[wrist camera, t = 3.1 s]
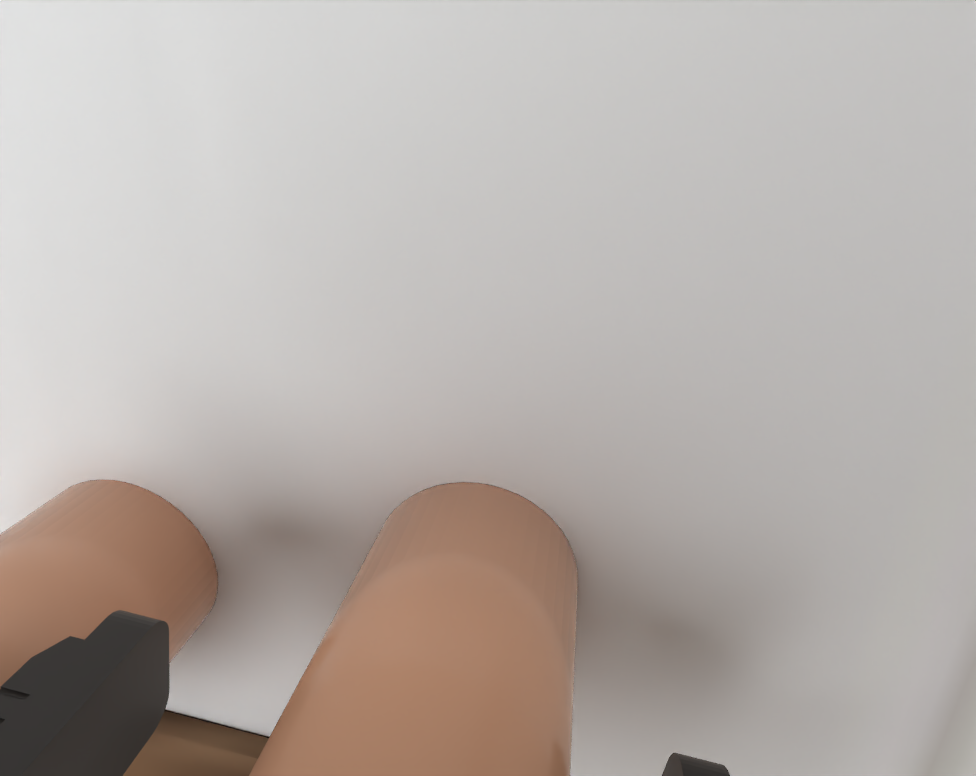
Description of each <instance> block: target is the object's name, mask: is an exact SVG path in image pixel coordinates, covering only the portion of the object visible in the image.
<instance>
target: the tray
mask: <svg viewBox="0 0 976 776" xmlns="http://www.w3.org/2000/svg"><path fill="white" fill-rule="evenodd" d="M268 739H269V738H266V737H262V736H259V735H255V734H251V733H247V732H243V731H240V730H236V729H232V728H228V727H224V726H221V725H217V724H213V723H209V722H205V721H202V720H198V719H194V718H190V717H186V716H183V715H179V714H175V713H171V712H167V711H164V713H163V716H162V718H161V720H160V722H159V724H158V726H157V728H156V729H155V731H154V733H153V734H152V736H151V737H150V738H149V740H148V741H147V743H146V744H145V745H144V747H143V748H142V750H141V751H140V752H139V754H138V755H137V756H136V758H135V759H134V761H133V762H132V763H131V765H130V766H129V768H128V769H127V770H126V772H125V773H124V774H123V776H249V775H250V773H251V771H252V769H253V767H254V765H255V763H256V762H257V760H258V758H259V756H260V754H261V752H262V750H263V748H264V747H265V745H266V743H267V741H268Z"/></svg>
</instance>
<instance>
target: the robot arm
mask: <svg viewBox="0 0 976 776" xmlns="http://www.w3.org/2000/svg"><path fill="white" fill-rule="evenodd" d="M168 696H169V627H168V624H167V622H165V621H162V620H158V619H154V618H150V617H146V616H142V615H138V614H134V613H130V612H127V611H122V610H118V611H115V612H113V613H111V614H110V615H109V616H108V617H107V618H105V619H104V620H103V621H102V622H101V623H100V624H99V626H98V627H97V628H96V629H95V630H94V631H93V632H92V633H91V634H90V635H89V636H88V637H87V638H86V639H85V640H84V639H80V638H76V637H72V636H69V637H67V638H66V639H64V640H62V641H60V642H58V643H57V644H55V645H53V646H51V647H49V648H48V649H46V650H44V651H42V652H40V653H39V654H37V655H35V656H33V657H31V658H30V659H29V660H28V661H27V662H26V663H25V664H24V665H23V666H22V667H21V668H20V669H19V670H18V671H17V672H16V673H14V674H13V675H12V676H11V677H10V678H9V679H8V680H7V681H6V682H5V683H4V684H3V685H2V686H1V688H0V776H123V774H124V773H125V772H126V770H127V769H128V768H129V766H130V765H131V763H132V762H133V761H134V759H135V758H136V756H137V755H138V754H139V752H140V751H141V750H142V748H143V747H144V745H145V744H146V743H147V741H148V740H149V738H150V737H151V736H152V734H153V733H154V731H155V729H156V728H157V726H158V724H159V722H160V720H161V718H162V716H163V713H164V710H165V708H166V705H167V701H168ZM662 776H730V775H729V772H728V770H727V768H726V767H725V766H724V765H721V764H717V763H713V762H709V761H705V760H701V759H697V758H693V757H690V756H686V755H682V754H678V753H673V754H672V755H671V756H670V757H669V760H668V762H667V764H666V767H665V769H664V772H663V774H662Z"/></svg>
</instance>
